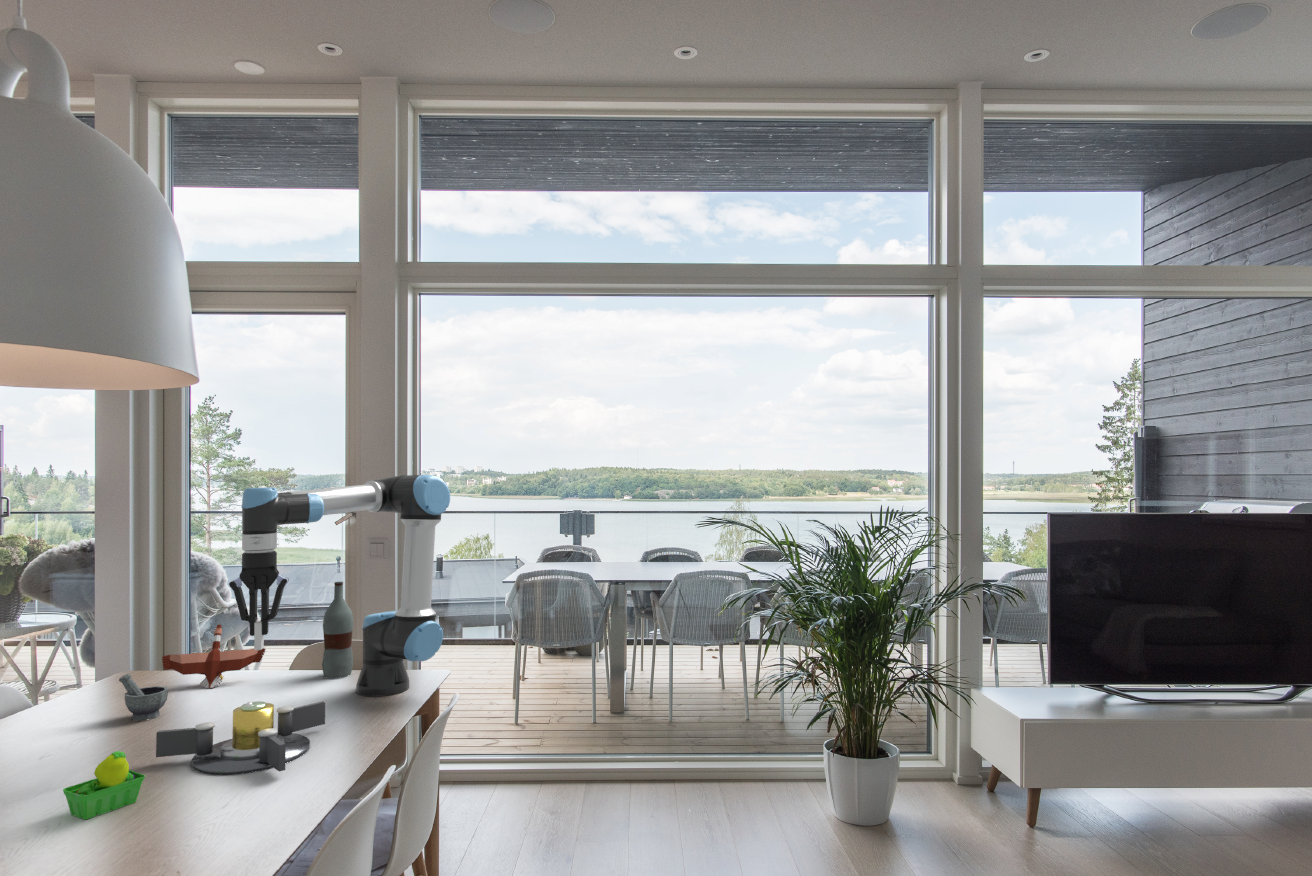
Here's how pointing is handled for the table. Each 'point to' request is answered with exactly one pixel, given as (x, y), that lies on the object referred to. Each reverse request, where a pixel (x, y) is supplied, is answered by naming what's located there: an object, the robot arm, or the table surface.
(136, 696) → the mortar and pestle
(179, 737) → the knob far
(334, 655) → the bottle
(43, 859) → the table surface
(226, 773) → the tribrach
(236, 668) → the decorative bird
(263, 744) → the knob left
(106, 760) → the fruit basket
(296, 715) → the knob near arm
